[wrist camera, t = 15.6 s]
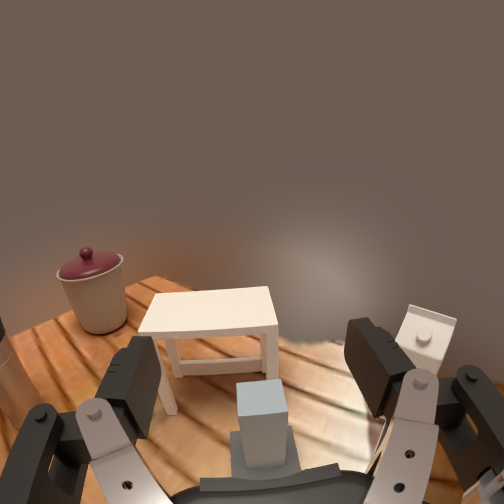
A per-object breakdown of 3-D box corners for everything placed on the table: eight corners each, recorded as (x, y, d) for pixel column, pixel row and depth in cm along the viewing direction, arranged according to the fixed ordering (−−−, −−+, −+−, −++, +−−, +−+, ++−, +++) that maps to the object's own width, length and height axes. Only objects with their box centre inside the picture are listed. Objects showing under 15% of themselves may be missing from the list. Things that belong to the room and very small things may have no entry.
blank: (284, 465, 29) (288, 411, 25) (246, 469, 29) (237, 416, 25) (279, 438, 34) (280, 378, 29) (244, 441, 34) (236, 382, 29)
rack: (278, 410, 40) (278, 324, 34) (167, 414, 39) (137, 331, 33) (270, 366, 50) (267, 286, 45) (175, 372, 49) (155, 293, 44)
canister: (71, 319, 66) (50, 249, 59) (125, 300, 78) (109, 232, 71) (82, 352, 53) (52, 267, 46) (147, 326, 65) (129, 244, 58)
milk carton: (390, 388, 41) (416, 294, 34) (423, 402, 36) (460, 307, 29) (370, 414, 36) (400, 316, 30) (407, 431, 31) (451, 333, 25)
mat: (301, 476, 28) (302, 474, 27) (232, 483, 27) (232, 481, 27) (290, 428, 36) (291, 425, 36) (230, 434, 36) (230, 431, 35)
